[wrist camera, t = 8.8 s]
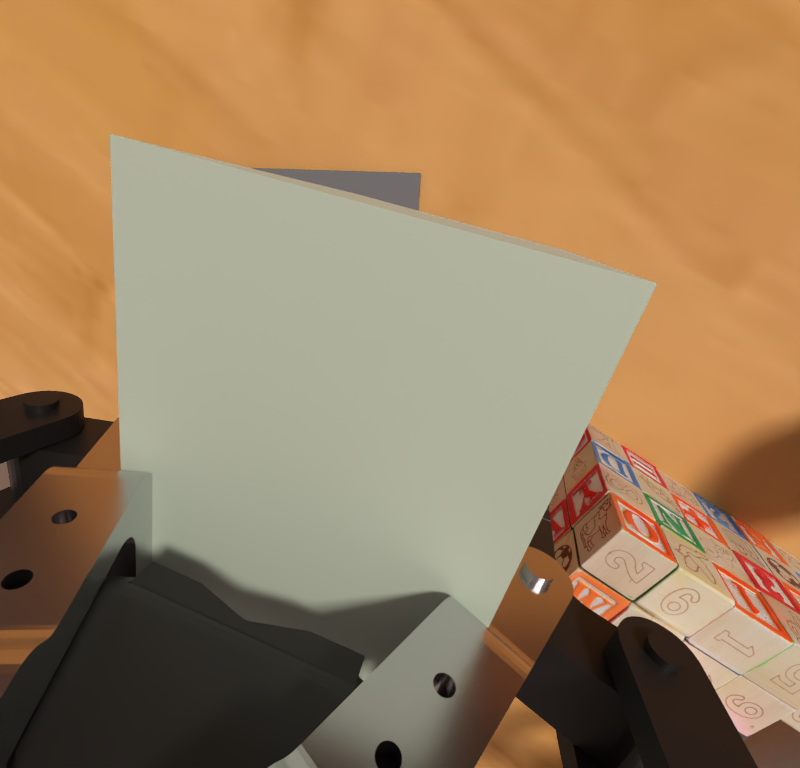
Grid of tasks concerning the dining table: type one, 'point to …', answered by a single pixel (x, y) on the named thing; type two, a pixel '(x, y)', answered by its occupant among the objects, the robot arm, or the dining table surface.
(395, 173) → the gray tile
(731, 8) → the dining table surface
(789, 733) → the ceramic pitcher
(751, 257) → the dining table surface
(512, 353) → the sage block
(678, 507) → the stack of blocks
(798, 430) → the dining table surface
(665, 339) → the dining table surface
